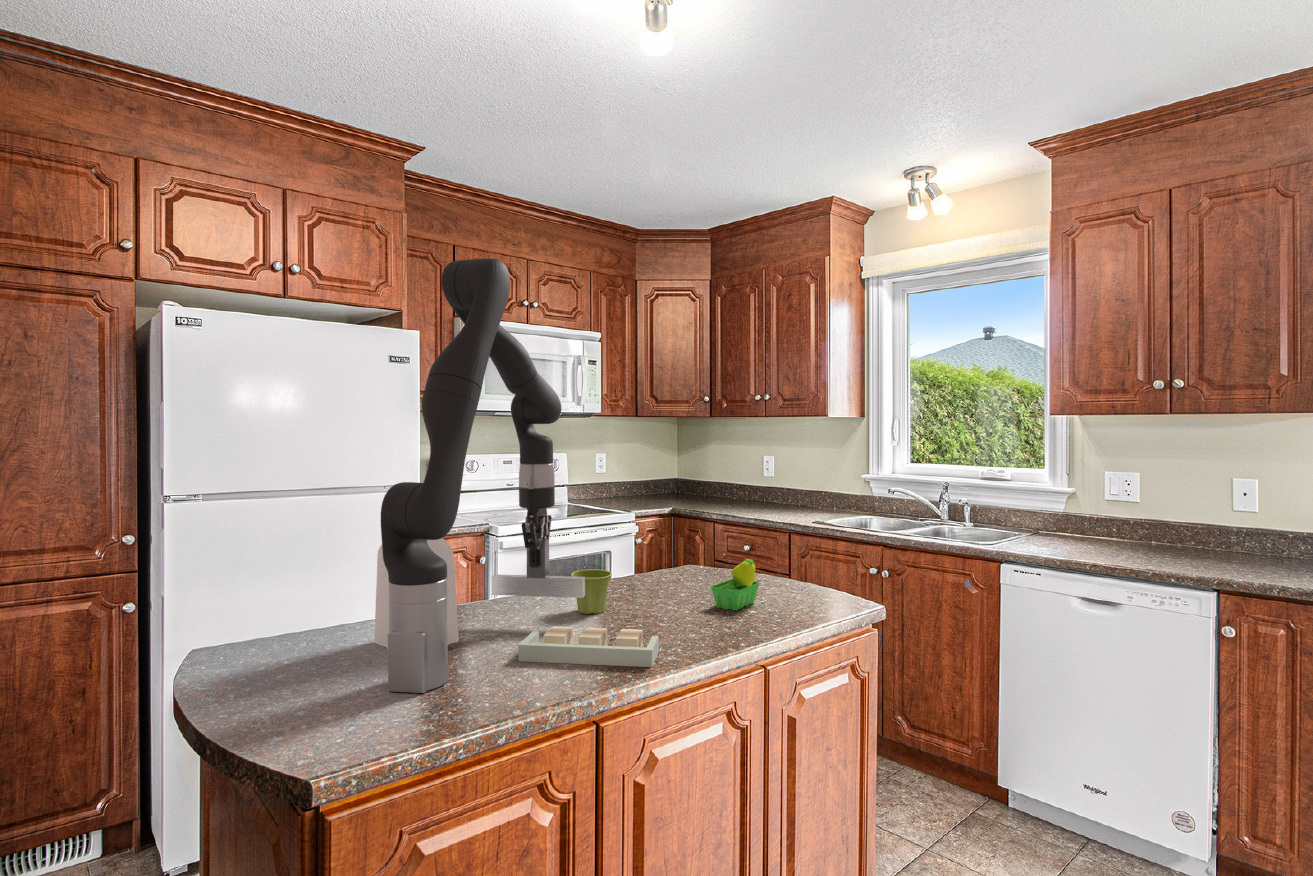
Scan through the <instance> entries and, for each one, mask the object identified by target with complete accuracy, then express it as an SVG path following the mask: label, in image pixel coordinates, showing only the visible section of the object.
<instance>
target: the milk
mask: <svg viewBox="0 0 1313 876" xmlns="http://www.w3.org/2000/svg"><path fill="white" fill-rule="evenodd" d="M427 543H428V545H429V547H430V549H431V550H432V551H433V552H434V553H435V554H437V555H438V556H439V557H441V558H442V559H444V560H445V562H446V564H447V619H448V646H449V645H451V644H452V643H453V644H456V643H459V642H460V639H459V623H458V622H459V620H458V605H457V603H458V602H457V589H456V588H457V587H456V576H455V575H456V573H455V561H454V560H455V557H454V556H455V555H454V551H453V548H452V546H451V545H450V543H449V542H448V541H447V540H445V539H444V537H443V538H441V539H438V540H427ZM376 562H377V563H376V586H375V587H376V589H375V610H374V611H375V612H374V613H375V616H374V617H375V618H374V641H375V642H377V643H378V644H377V643H376V644H377V645H379V644H380V645H379V646H381V645H382V646H381V647H383V646H386V647H387V648H386V649H388V633H389V581H388V571H387V569H386V567H385V564H384V561H383V552H382V544H380V546H379V548H378V550H377V561H376ZM374 641H373V642H374ZM458 641H459V642H458ZM453 644H452V645H453Z"/></svg>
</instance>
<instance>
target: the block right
mask: <svg viewBox="0 0 1313 876" xmlns="http://www.w3.org/2000/svg"><path fill="white" fill-rule="evenodd" d="M643 632H644V631H643V629H635V628H633V629H632V628H629V629H628V628H622V629H620V631H619V632H618V634H617V635H616V637H615V646H625V647H644V646H643V644H644V643H643V642H644V641H643V640H644V637H643V634H644V633H643Z"/></svg>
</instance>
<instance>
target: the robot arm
mask: <svg viewBox="0 0 1313 876" xmlns="http://www.w3.org/2000/svg"><path fill="white" fill-rule="evenodd" d="M440 278H441V279H440V280H441V281H440V283H441V289H442V290H441V291H442V293H443V296H444V298H445V300H446V301H447V303H448V305H449V306H450V307H451V309H452V310H453V311H454V313H455V314H456V315H457V316H458V318H459V319H460V320H461V322H462V323H463V325H462V328H461V330H460V331H459V332H458V333H457V335H456V336H455V337H454V338H453V339H452V340H451V341H450V342H449V344H448V345H447V346H446V347H445V348H444V349H443V350H442V351H441V353H440V354H439V355H438V356H437V357H436V359H435V361H434V362H433V364H432V365H431V366H430V369H429V372H428V375H427V379H426V382H425V383H426V384H425V387H424V391H423V394H422V397H421V398H422V399H421V414H422V417H423V419H422V420H423V423H424V426H425V429H426V430H425V431H426V433H427V435H428V440H429V446H430V448H429V450H430V453H429V461H428V464H427V470H426V473H425V476H424V480H423V482H415V481H414V482H413V481H412V482H411V481H409V482H408V481H406V482H405V481H403V482H398V483H395V484H393V485H392V486H391V487H390V488H388V490H387V491H386V493H385V494H384V496H383V499H382V502H381V507H380V533H381V535H380V536H381V545H382V552H383V561H384V564H385V567H386V569H387V571H388V581H389V633H388V648H387V691H388V692H395V693H396V692H397V693H398V692H399V693H414V694H415V693H416V694H417V693H419V694H424V693H426V692H427V691H430V690H434V689H436V688H440V687H441V686H444V685H445V684H446V683H447V682H448V681H449V650H448V648H449V645H448V619H447V564H446V562H445V560H444V559H442V558H441V557H439V556H438V555H437V554H435V553H434V552H433V551H432V550H431V549H430V547H429V545H428V543H427V540H438V539H441V538H443V539H444V537H446V536H447V535H448V534H449V533H450V531H451V530H452V528H453V526H454V524H455V522H456V519H457V516H458V510H459V507H460V506H459V505H460V500H461V491H462V486H463V485H462V483H463V479H464V478H463V477H464V469H465V462H466V457H467V453H468V447H469V442H470V439H471V433H472V428H473V425H474V422H475V421H474V420H475V417H476V413H477V410H478V406H479V402H480V399H481V395H482V389H483V385H484V379H485V374H486V370H487V367H488V366H487V365H488V361H489V359H491V361H492V363H493V365H494V366H495V368H496V370H497V372H498V374H499V376H500V378H501V380H502V381H503V383H504V385H505V388H506V389H507V390H508V391H509V393H511V394H513V395H514V397H513V398H512V399H511V400H512V401H511V404H510V413H511V418H512V421H513V426H514V429H515V431H516V437H517V440H518V443H519V463H520V464H519V469H518V471H519V472H518V505H519V507H520V508H522V509H527V512H526V516H525V522H522V523H521V531H522V538H523V542H524V548H525V549H527V548H528V550H529V565H530V567H536V568H538V567H540V548H541V539H542V538H549V539H550V534H551V533H550V532H551V526H552V515H550V514H548V508H549V509H550V508H553V507H555V503H556V502H555V498H556V497H555V495H556V494H555V486H556V485H555V470H554V441H553V438H551V437H549V436H548V435H543V434H540V433H538V432H537V431H536V428H535V426H534V425H549V424H550V425H551V424H553V423H556V421H558V420H559V418H560V417H561V414H562V403H561V400H560V398H559V394H557V392H556V391H555V390H554V388H553V387H552V386H551V385H550V384H549V383H548V382H547V380H546V379H544V377H543V376H541V374H540V373H539V372H538V371H537V368H536V366H535V365H534V362H533V360H532V357H531V356H530V354H529V353H528V351H527V349H526V347H525V346H524V345H523V344H522V342H520V341H519V339H517V338H516V336H514V335H512V334H511V332H509V331H507V329H505V328H504V327H503V326H502V325H501V324H500V323H501V321H502V318H503V315H504V313H505V310H506V306H507V304H508V301H509V296H510V292H511V277H510V273H509V270H508V268H507V265H506V264H505V263H504V262H503V261H501V260H500V259H497V258H487V257H486V258H485V257H484V258H474V259H473V258H472V259H460V260H459V259H458V260H453V261H451V262H449V263H447V264H446V265H445V266H444V268H443V270H442V273H441V277H440ZM532 540H533V542H532Z"/></svg>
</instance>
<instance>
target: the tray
mask: <svg viewBox="0 0 1313 876" xmlns="http://www.w3.org/2000/svg"><path fill="white" fill-rule="evenodd" d="M659 638H660V637H659V635H652V636H651V638H650V640H649V642H648V643H647V646H646V647H645V646H643V647H625V646H616V645H607V646H601V645H579V644H574V643H573V644H551V643H544V642H540V631H539V630H538V631H537V630H536V631H535V630H533V631H532V632H531V633H530V634H528V635H527V636H526V637H525V638H524V639H523V640H521V642H520V643H519V644H518V645H517V646H518V647H517V648H518V662H526V663H528V662H529V663H548V664H549V663H551V664H573V665H590V666H591V665H595V666H616V667H617V666H618V667H638V668H639V667H640V668H653V666H654V664H655V662H654V661H656V659H657V657H658V654H659V651H660V650H659V646H660V645H659V644H660V641H659V640H660V639H659Z"/></svg>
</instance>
